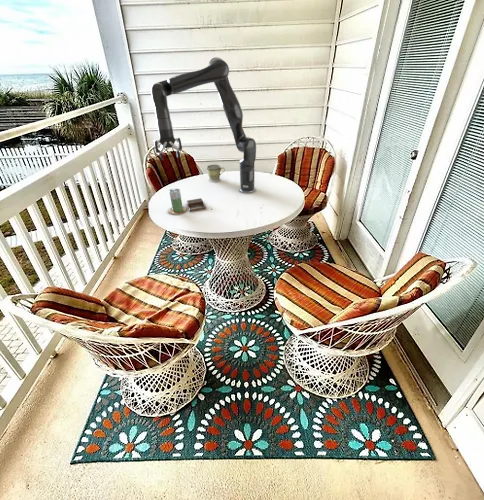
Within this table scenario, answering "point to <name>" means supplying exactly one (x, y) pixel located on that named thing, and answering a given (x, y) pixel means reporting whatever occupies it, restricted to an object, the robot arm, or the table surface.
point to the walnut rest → (195, 204)
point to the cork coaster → (177, 212)
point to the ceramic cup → (214, 172)
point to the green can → (176, 200)
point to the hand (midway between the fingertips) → (170, 158)
